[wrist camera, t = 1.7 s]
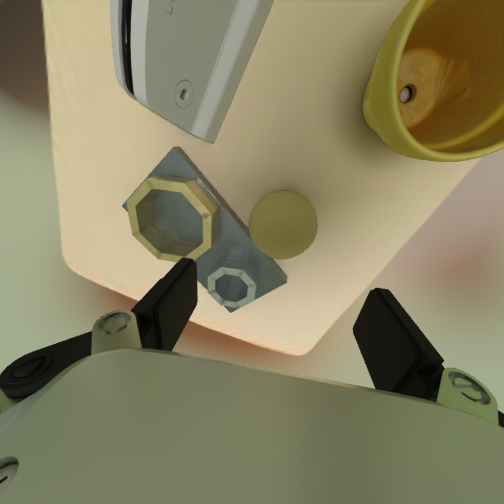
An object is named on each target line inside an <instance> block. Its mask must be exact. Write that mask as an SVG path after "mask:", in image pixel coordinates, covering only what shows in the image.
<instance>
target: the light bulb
mask: <svg viewBox="0 0 504 504" xmlns="http://www.w3.org/2000/svg"><path fill="white" fill-rule="evenodd" d="M317 226H318V225H317V217H316V213H315V210H314V209H313V207H312V205H311V204H310V203H309V201H308V200H307V199H305V198H304V197H303V196H301V195H300V194H298V193H295V192H292V191H276V192H272V193H270V194H268V195H266V196H264V197H263V198H262V199H261V200H259V202H258V203H257V204H256V205H255V207H254V208H253V210H252V212H251V215H250V218H249V232H250V236H251V238H252V240H253V242H254V244H255V245H256V246H257V248H258V249H259V250H260V251H262V252H263V253H264V254H265V255H267V256H269V257H271V258H274V259H288V258H292V257H294V256H297V255H299V254H301V253H302V252H304V251H305V250H306V249H307V248H308V247H309V246H310V245H311V244H312V242H313V241H314V239H315V236H316V233H317Z"/></svg>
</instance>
